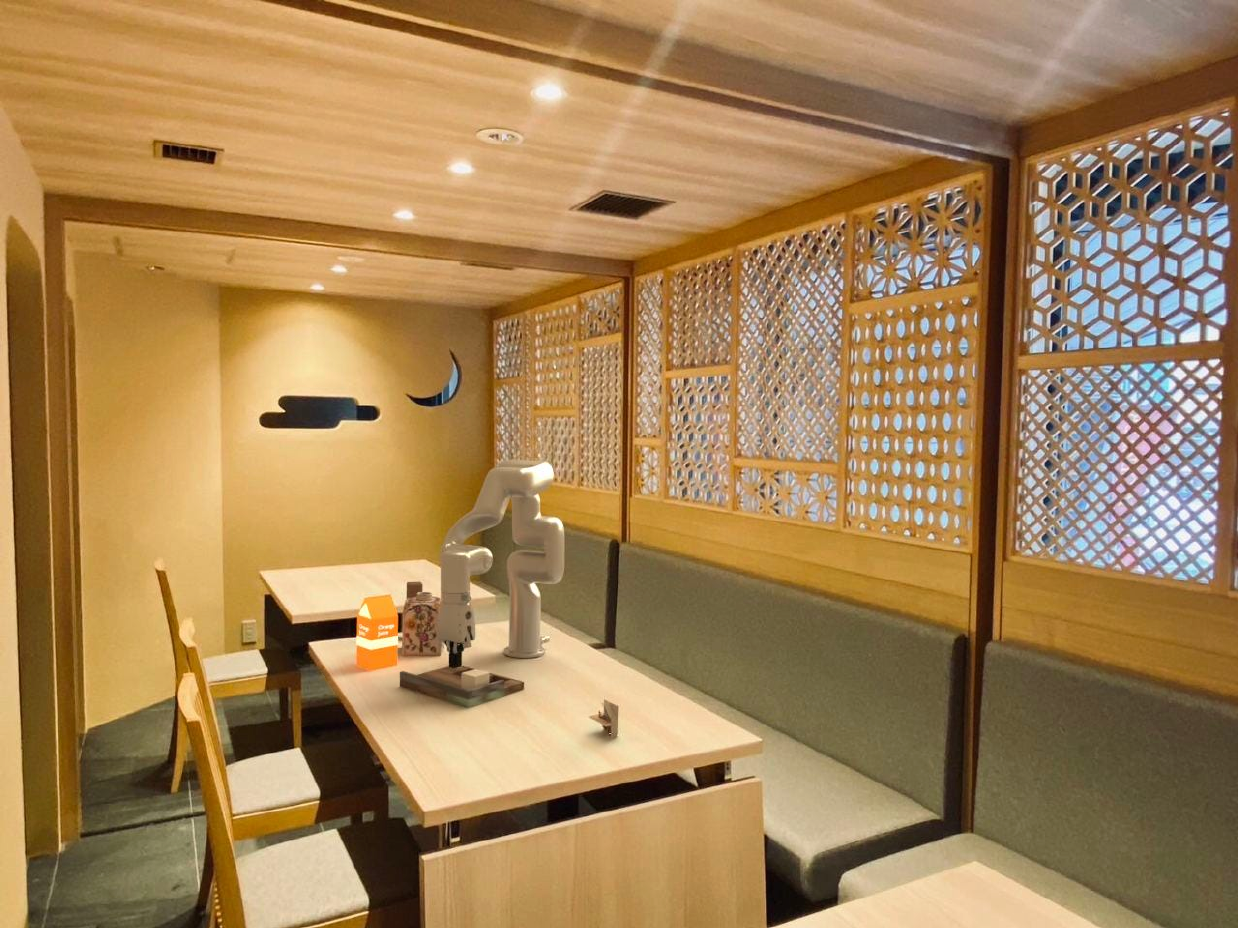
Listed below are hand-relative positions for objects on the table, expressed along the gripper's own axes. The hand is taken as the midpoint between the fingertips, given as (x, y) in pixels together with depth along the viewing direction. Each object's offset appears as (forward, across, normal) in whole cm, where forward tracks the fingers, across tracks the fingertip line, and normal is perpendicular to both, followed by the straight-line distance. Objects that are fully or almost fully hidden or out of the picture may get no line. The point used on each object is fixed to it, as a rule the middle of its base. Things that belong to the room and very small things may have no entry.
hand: (455, 666), depth 231 cm
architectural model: (+6, -50, 0) cm, 51 cm away
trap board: (+6, 0, -2) cm, 7 cm away
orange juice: (+7, +34, -1) cm, 34 cm away
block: (+4, -9, +1) cm, 10 cm away
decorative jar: (+7, +36, -20) cm, 42 cm away
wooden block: (+8, +50, -31) cm, 59 cm away
